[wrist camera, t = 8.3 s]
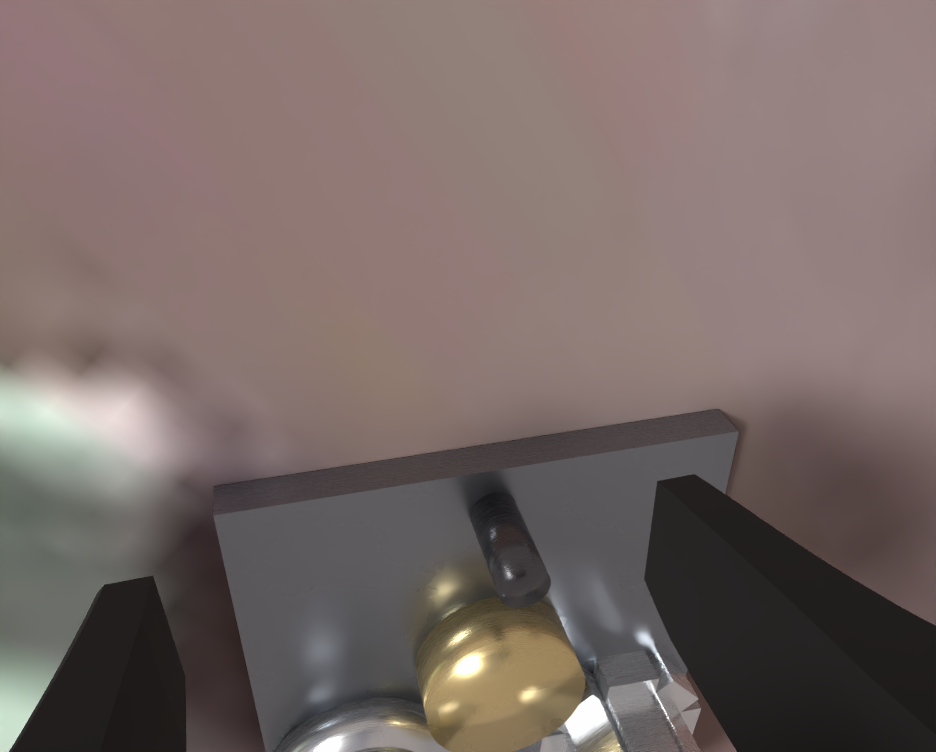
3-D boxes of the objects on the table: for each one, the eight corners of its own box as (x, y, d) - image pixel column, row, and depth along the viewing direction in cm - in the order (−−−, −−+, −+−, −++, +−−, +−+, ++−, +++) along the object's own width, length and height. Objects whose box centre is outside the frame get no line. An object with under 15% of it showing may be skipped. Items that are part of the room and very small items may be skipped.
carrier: (282, 803, 30) (289, 925, 26) (214, 486, 22) (211, 602, 18) (658, 715, 33) (709, 814, 29) (718, 408, 25) (797, 495, 22)
